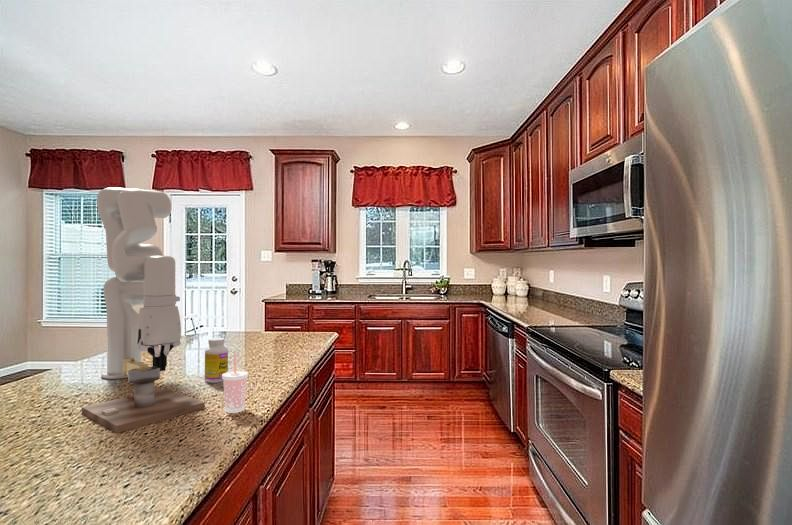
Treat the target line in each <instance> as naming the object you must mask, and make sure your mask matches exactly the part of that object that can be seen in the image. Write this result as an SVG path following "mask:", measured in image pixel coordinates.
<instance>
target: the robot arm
mask: <svg viewBox="0 0 792 525" xmlns="http://www.w3.org/2000/svg"><path fill="white" fill-rule="evenodd" d="M96 205H97V212H98V215H99V218H100V220H101V222H102V225H103V227H104V230H105V241H106V242H105V243H106V244H105V245H106V258H107V265H108V268H109V270H110V271H112V272H114V275H115V277H114V276H113V277H110V278H109V279H107V280H106V281H105V282H104V284H103V291H102V292H103V297H104V303H105V308H106V309H105V310H106V370H103V371H102V372H101V373H100V377H101V378H103V379H107V380H109V379H110V380H113V379H114V380H115V379H116V380H118V379H128V376H123V359H126V358H135V361H138V362H142V352H143V353H144V352H146V353H148V354H150V356H152V367H159V368H160V373H161V372H165V371H166V369H167V368H166V367H167V366H168V359H167V357H168V355H169V354H170V352H171V351H172V349H174V348H177V347H179V346H180V345H181V339H182V338H181V337H182V326H181V324H182V323H181V317H180V311H179V307H178V306H177V305H176V304H177V302H180V301H181V297H180V296H177V295H176V259H175V258H174V257H173V256H170V255H163V251H162V250H161V248H160V247H159V246H157V245H155V244H150V243H143V242H145V241H146V242H147V241H149V240H150V239H152V238H153V237H155V235H156V234H157V232H158V226H157V223H156V220H155V219H166V218H168V217H169V216H170V215H171V213H172V201H171V199H170V197H169V195H168V194H167V193H166V192H163V191H159V190H150V189H141V188H125V187H105V188H103V189H101V190H99V192H98V193H97V198H96ZM142 305H143V307H140V308H139V311H138V312H137V311H136V310H135V309H134V308H133V307H134V306H142Z"/></svg>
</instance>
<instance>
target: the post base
mask: <svg viewBox="0 0 792 525" xmlns="http://www.w3.org/2000/svg"><path fill="white" fill-rule="evenodd" d="M205 403H206V402H204V401H202V400H199V399H198V398H197V399H196V398H194V397H191V396H188V395H186V394H183V393H180V392H177V391H175V390H173V389H172V390H171V389H169V388H167V387H164V388H160V389H156V390H155V381H153V382H148V383H133V395H129V394H128V395H126V396H125V397H121V398H116V399H112V400H108V401H106V400H105V401H103V402H99V403H98V402H97V403H95V404H89V405H85V406H84V405H83V406H81V414H82V415H84V416H85V417H87V418H89V419H91V420H93V421H94V422H96V423H98V424H100V425H101V426H104V427H106V428H107V429H109V430H111V431H113V432H114V433H116V434H118V432H119V433H121V432H125V431H129V430H132V429H136V428H140V427H143V426H146V425H149V424H154V423H157V422H160V420H161V421H164V420H168V419H171V418H174V417H179V416H182V415H185V414H188V413H189V414H190V413H192V412H195V411H199V410H203V409H206V408H205Z"/></svg>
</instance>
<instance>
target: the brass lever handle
mask: <svg viewBox="0 0 792 525" xmlns="http://www.w3.org/2000/svg"><path fill="white" fill-rule="evenodd" d="M123 376H128V378H127V382H128V383H131V384H134V383H148V382H153V381H154V382H156V381H158V380H160V379H161V372H160V368H159V367H153V366H150V365H149V364H148V363H145V362H142V361H141V362H138V361H135V358H126V359H123Z"/></svg>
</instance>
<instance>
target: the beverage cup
mask: <svg viewBox="0 0 792 525" xmlns="http://www.w3.org/2000/svg"><path fill="white" fill-rule="evenodd" d="M248 377H249V372H248V371H244V370H237V353H234V354H233V370H232V371H228V372H226V373H223V374H222V379H223V382H222V383H223V394H224V395H223V396H224V397H223V398H224V410H225V412H226V413H228V414H236V413H237V414H238V413H241V412H243V411H245V410H246V396H247V395H246V394H247V380H248Z"/></svg>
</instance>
